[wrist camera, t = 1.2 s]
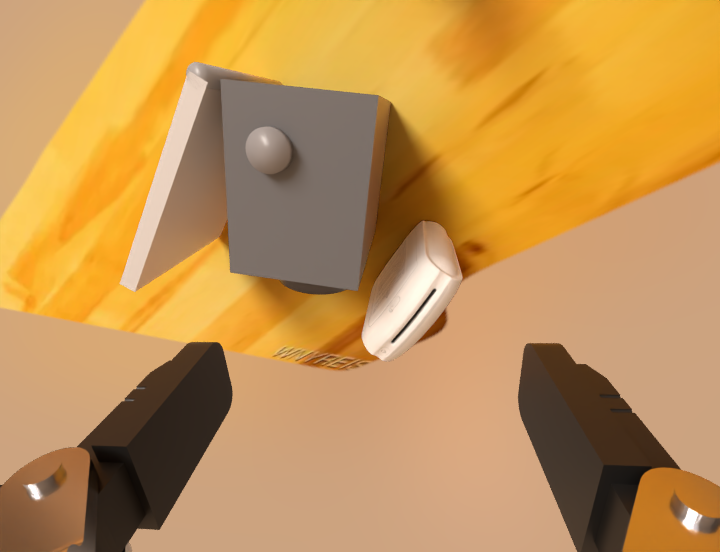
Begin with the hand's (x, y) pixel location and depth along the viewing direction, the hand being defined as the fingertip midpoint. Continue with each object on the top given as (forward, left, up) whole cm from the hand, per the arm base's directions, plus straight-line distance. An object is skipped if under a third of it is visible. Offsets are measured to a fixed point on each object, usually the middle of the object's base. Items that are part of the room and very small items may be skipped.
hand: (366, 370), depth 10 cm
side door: (+15, 0, -28) cm, 32 cm away
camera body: (+6, 0, -28) cm, 29 cm away
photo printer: (-2, +8, -29) cm, 30 cm away
